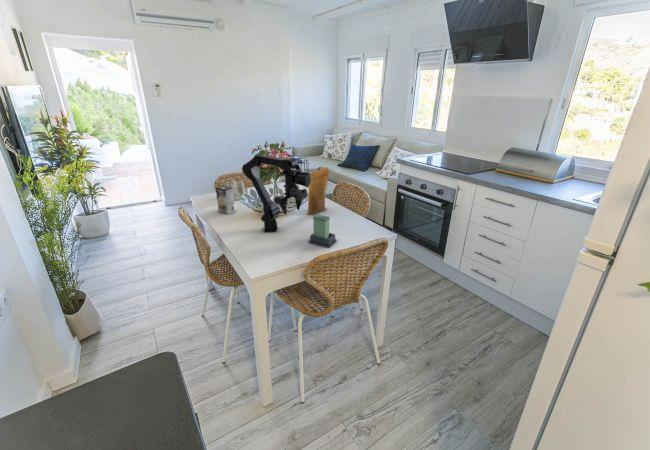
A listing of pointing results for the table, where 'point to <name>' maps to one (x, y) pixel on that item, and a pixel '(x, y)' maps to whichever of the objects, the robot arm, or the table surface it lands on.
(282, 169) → the robot arm
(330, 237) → the dark grey open box
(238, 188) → the ceramic cottage
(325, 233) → the green box
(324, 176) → the pancake mix bag
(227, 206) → the coffee box
